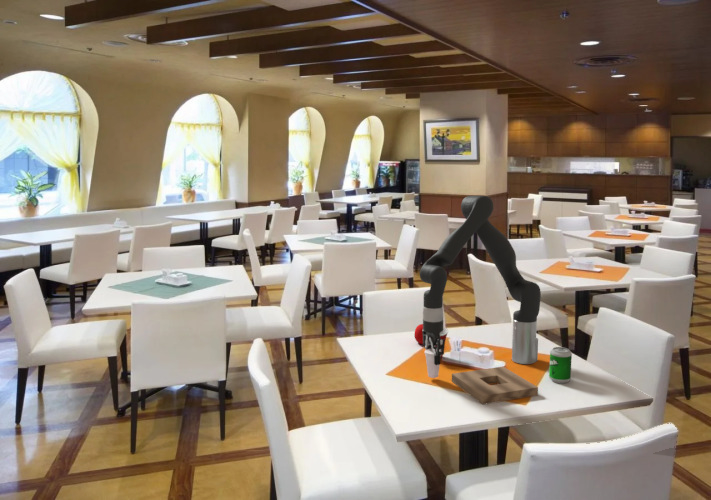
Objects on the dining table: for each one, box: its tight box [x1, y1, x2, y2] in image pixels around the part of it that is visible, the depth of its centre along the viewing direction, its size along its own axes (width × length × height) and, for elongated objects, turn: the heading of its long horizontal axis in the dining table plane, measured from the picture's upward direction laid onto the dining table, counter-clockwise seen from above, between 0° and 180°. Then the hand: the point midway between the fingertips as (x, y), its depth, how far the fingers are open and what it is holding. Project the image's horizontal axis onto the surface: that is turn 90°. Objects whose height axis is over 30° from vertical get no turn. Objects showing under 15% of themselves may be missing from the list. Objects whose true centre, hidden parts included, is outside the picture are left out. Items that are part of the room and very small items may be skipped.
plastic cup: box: [422, 326, 449, 359], centre depth 247 cm, size 11×11×12 cm
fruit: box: [414, 323, 423, 345], centre depth 266 cm, size 9×9×10 cm
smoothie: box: [424, 349, 441, 379], centre depth 222 cm, size 6×6×14 cm
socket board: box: [451, 366, 539, 405], centre depth 215 cm, size 22×22×3 cm
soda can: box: [548, 346, 573, 384], centre depth 221 cm, size 8×8×12 cm
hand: (433, 361), depth 223 cm, fingers closed on smoothie, 6 cm apart
